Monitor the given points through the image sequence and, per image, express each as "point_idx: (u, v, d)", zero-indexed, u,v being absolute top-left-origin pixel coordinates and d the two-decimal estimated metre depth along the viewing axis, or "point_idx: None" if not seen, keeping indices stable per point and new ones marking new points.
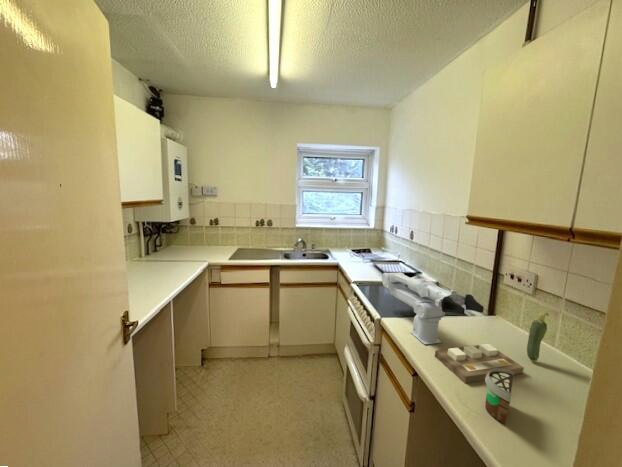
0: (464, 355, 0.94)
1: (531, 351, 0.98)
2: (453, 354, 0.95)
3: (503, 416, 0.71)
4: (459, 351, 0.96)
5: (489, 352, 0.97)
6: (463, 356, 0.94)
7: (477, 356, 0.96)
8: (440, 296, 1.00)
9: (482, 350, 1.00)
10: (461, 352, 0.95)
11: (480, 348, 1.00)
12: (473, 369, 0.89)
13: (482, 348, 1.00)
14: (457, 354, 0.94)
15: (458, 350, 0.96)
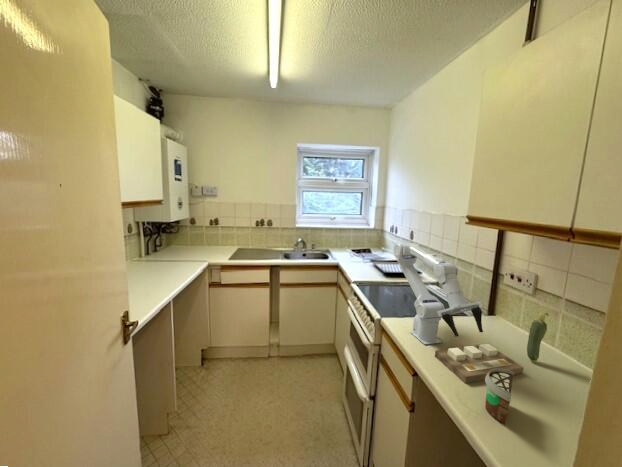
0: (464, 355, 0.94)
1: (531, 351, 0.98)
2: (453, 354, 0.95)
3: (503, 416, 0.71)
4: (459, 351, 0.96)
5: (489, 352, 0.97)
6: (463, 356, 0.94)
7: (477, 356, 0.96)
8: (447, 300, 0.97)
9: (482, 350, 1.00)
10: (461, 352, 0.95)
11: (480, 348, 1.00)
12: (473, 369, 0.89)
13: (482, 348, 1.00)
14: (457, 354, 0.94)
15: (458, 350, 0.96)
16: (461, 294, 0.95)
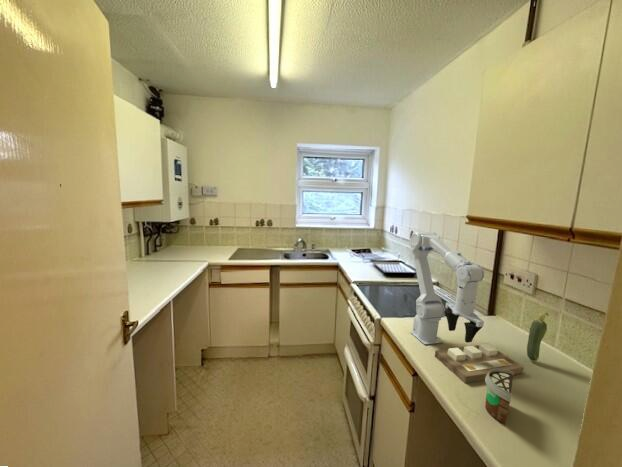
0: (464, 355, 0.94)
1: (531, 351, 0.98)
2: (453, 354, 0.95)
3: (503, 416, 0.71)
4: (459, 351, 0.96)
5: (489, 352, 0.97)
6: (463, 356, 0.94)
7: (477, 356, 0.96)
8: None
9: (482, 350, 1.00)
10: (461, 352, 0.95)
11: (480, 348, 1.00)
12: (473, 369, 0.89)
13: (482, 348, 1.00)
14: (457, 354, 0.94)
15: (458, 350, 0.96)
16: (468, 304, 0.90)
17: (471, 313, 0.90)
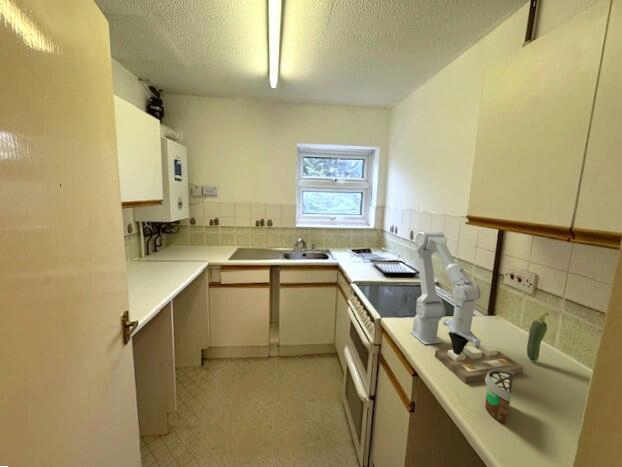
0: (464, 357, 0.94)
1: (531, 351, 0.98)
2: (453, 356, 0.95)
3: (503, 416, 0.71)
4: None
5: (489, 352, 0.97)
6: (463, 358, 0.94)
7: (477, 356, 0.96)
8: None
9: (482, 350, 1.00)
10: (461, 354, 0.95)
11: (480, 348, 1.00)
12: (473, 369, 0.89)
13: (482, 348, 1.00)
14: (457, 356, 0.94)
15: None
16: (464, 323, 0.91)
17: (468, 331, 0.92)
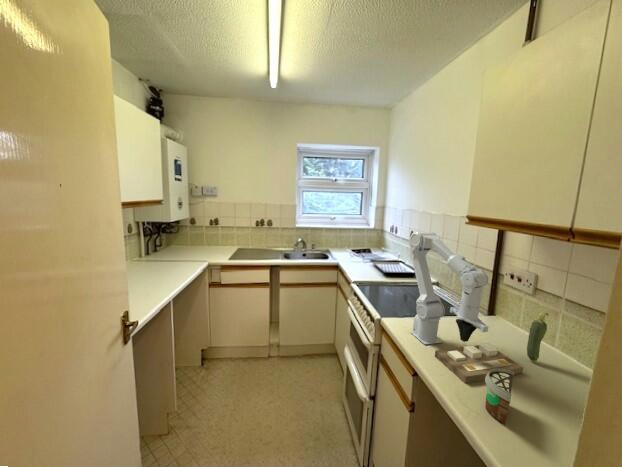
0: (464, 358, 0.94)
1: (531, 351, 0.98)
2: (453, 357, 0.95)
3: (503, 416, 0.71)
4: (459, 354, 0.96)
5: (489, 352, 0.97)
6: (463, 359, 0.94)
7: (477, 356, 0.96)
8: None
9: (482, 350, 1.00)
10: (461, 355, 0.95)
11: (480, 348, 1.00)
12: (473, 369, 0.89)
13: (482, 348, 1.00)
14: (457, 357, 0.94)
15: (458, 353, 0.97)
16: (472, 309, 0.91)
17: (475, 318, 0.91)
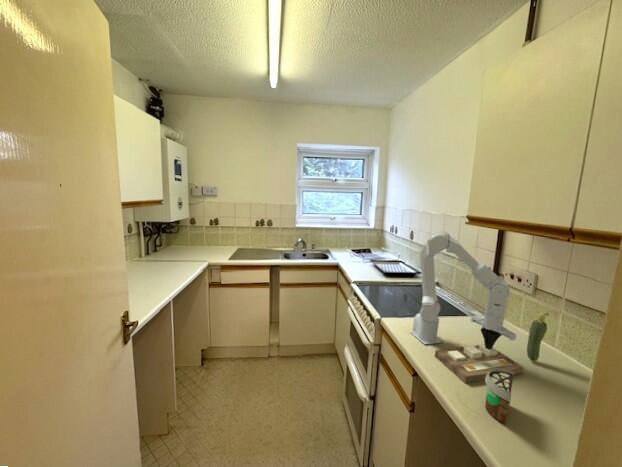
0: (464, 358, 0.94)
1: (531, 351, 0.98)
2: (453, 357, 0.95)
3: (503, 416, 0.71)
4: (459, 354, 0.96)
5: (489, 353, 0.97)
6: (463, 359, 0.94)
7: (477, 356, 0.96)
8: None
9: (482, 351, 1.00)
10: (461, 355, 0.95)
11: (480, 349, 1.00)
12: (473, 369, 0.89)
13: (482, 349, 1.00)
14: (457, 357, 0.94)
15: (458, 353, 0.97)
16: (499, 319, 0.94)
17: (501, 327, 0.96)
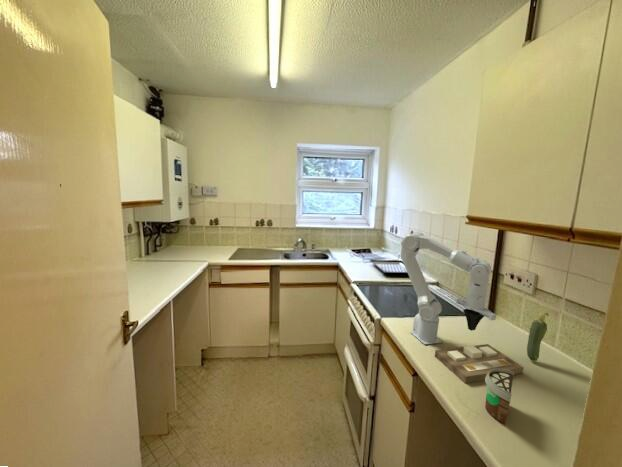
0: (464, 358, 0.94)
1: (531, 351, 0.98)
2: (453, 357, 0.95)
3: (503, 416, 0.71)
4: (459, 354, 0.96)
5: (488, 355, 0.97)
6: (463, 359, 0.94)
7: (477, 356, 0.96)
8: None
9: None
10: (461, 355, 0.95)
11: None
12: (473, 369, 0.89)
13: (482, 351, 1.00)
14: (457, 357, 0.94)
15: (458, 353, 0.97)
16: (480, 299, 0.95)
17: (483, 307, 0.96)
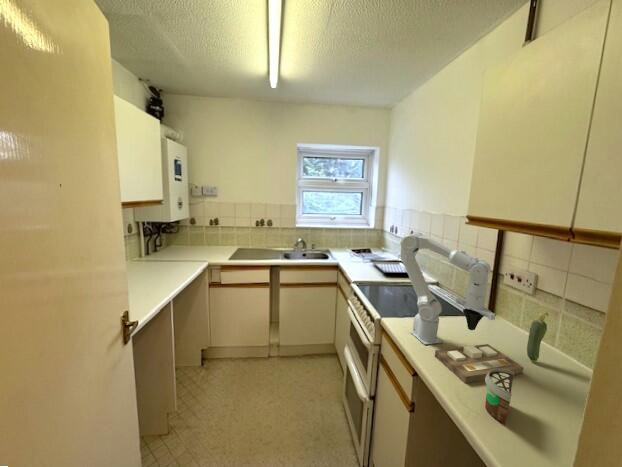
0: (464, 358, 0.94)
1: (531, 351, 0.98)
2: (453, 357, 0.95)
3: (503, 416, 0.71)
4: (459, 354, 0.96)
5: (488, 355, 0.97)
6: (463, 359, 0.94)
7: (477, 356, 0.96)
8: None
9: None
10: (461, 355, 0.95)
11: None
12: (473, 369, 0.89)
13: (482, 351, 1.00)
14: (457, 357, 0.94)
15: (458, 353, 0.97)
16: (479, 299, 0.95)
17: (482, 307, 0.96)
